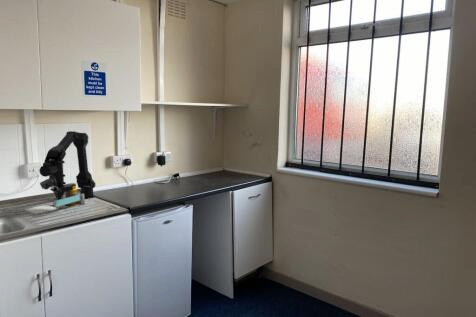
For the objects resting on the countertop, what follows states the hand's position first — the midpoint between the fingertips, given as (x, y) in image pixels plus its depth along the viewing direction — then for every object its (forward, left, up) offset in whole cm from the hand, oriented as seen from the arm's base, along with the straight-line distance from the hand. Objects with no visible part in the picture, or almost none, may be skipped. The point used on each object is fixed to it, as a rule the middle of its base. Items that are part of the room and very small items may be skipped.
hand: (59, 201), depth 193 cm
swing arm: (-5, +1, -2) cm, 5 cm away
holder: (-9, -6, -5) cm, 12 cm away
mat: (+5, -9, -5) cm, 11 cm away
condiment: (-9, -5, -5) cm, 12 cm away
